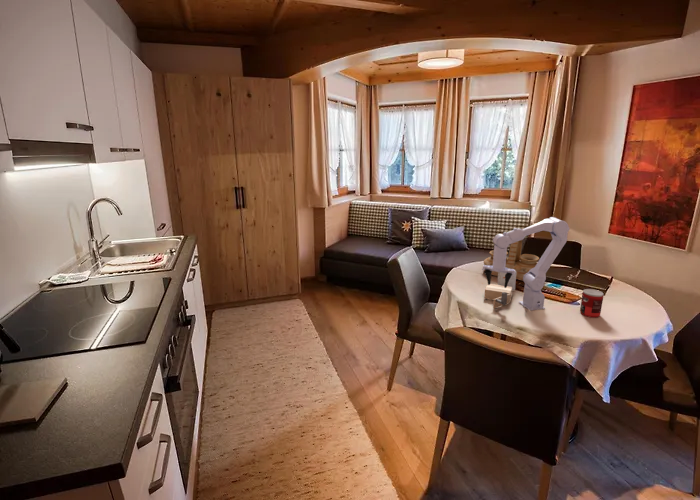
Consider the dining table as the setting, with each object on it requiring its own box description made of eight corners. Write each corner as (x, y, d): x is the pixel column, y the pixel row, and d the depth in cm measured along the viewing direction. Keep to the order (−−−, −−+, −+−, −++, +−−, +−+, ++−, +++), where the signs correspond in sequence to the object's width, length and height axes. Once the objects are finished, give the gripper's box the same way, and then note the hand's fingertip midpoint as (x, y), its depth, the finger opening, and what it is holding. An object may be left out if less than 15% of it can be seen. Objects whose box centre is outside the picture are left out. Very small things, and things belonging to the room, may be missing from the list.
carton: (511, 295, 190) (512, 286, 188) (509, 302, 182) (510, 293, 181) (487, 292, 196) (488, 283, 194) (484, 298, 188) (484, 289, 187)
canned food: (581, 308, 173) (584, 287, 170) (601, 313, 168) (604, 291, 165) (578, 314, 167) (581, 292, 164) (599, 319, 162) (602, 296, 159)
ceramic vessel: (478, 274, 222) (480, 235, 215) (488, 266, 236) (491, 228, 229) (539, 286, 202) (544, 242, 195) (546, 276, 215) (551, 235, 208)
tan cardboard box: (509, 302, 182) (510, 285, 179) (519, 306, 177) (521, 288, 175) (493, 308, 176) (494, 290, 174) (503, 312, 171) (504, 294, 169)
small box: (511, 286, 202) (513, 268, 199) (515, 290, 196) (516, 272, 193) (496, 286, 203) (498, 268, 200) (499, 290, 197) (501, 272, 194)
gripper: (481, 259, 174) (479, 285, 178) (513, 263, 166) (511, 291, 170) (485, 255, 180) (484, 280, 183) (517, 259, 171) (514, 286, 175)
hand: (497, 285), depth 177 cm, fingers open, 7 cm apart
